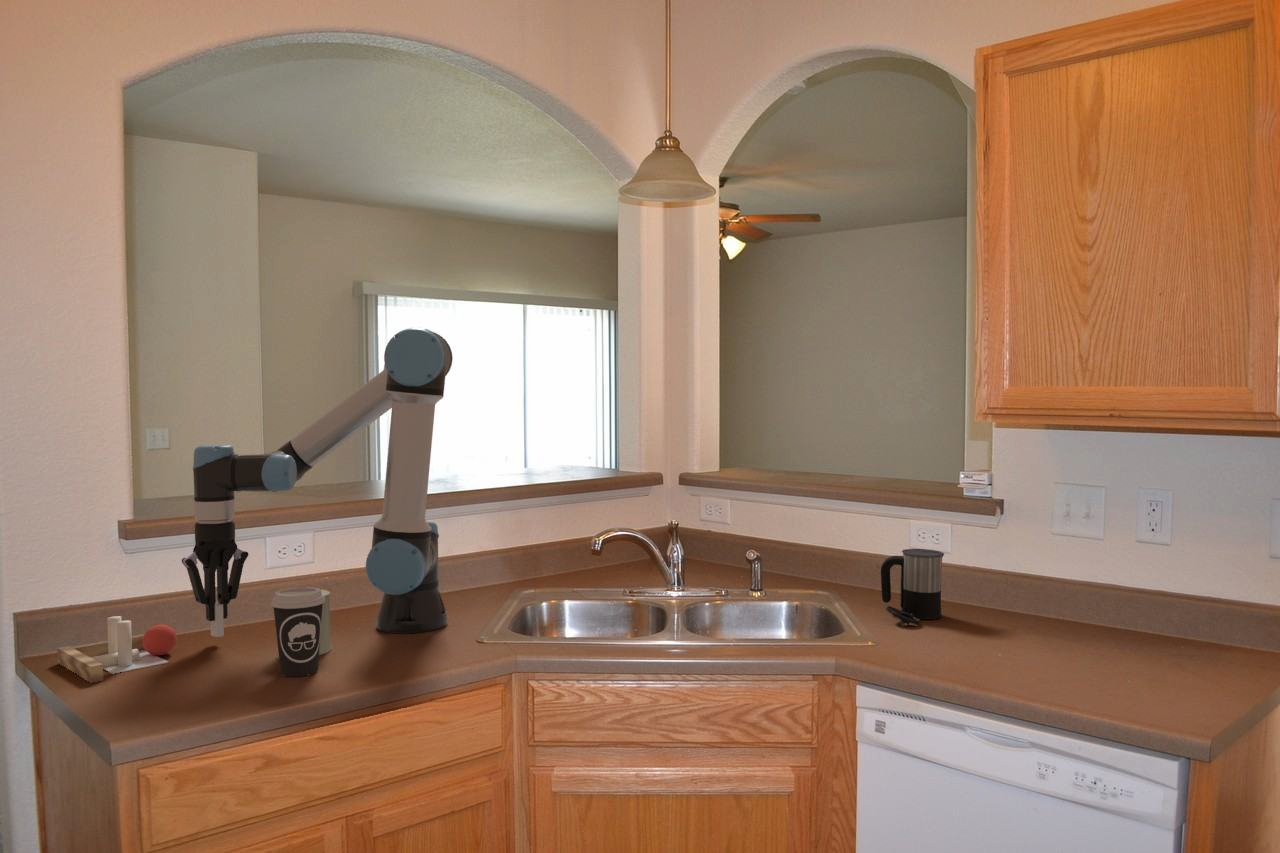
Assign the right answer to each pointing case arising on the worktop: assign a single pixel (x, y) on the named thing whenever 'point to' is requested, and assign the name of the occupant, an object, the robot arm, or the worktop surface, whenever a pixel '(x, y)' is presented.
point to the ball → (159, 639)
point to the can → (325, 625)
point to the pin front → (114, 658)
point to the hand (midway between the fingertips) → (217, 635)
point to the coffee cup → (298, 629)
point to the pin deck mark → (138, 663)
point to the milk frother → (915, 584)
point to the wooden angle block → (86, 666)
